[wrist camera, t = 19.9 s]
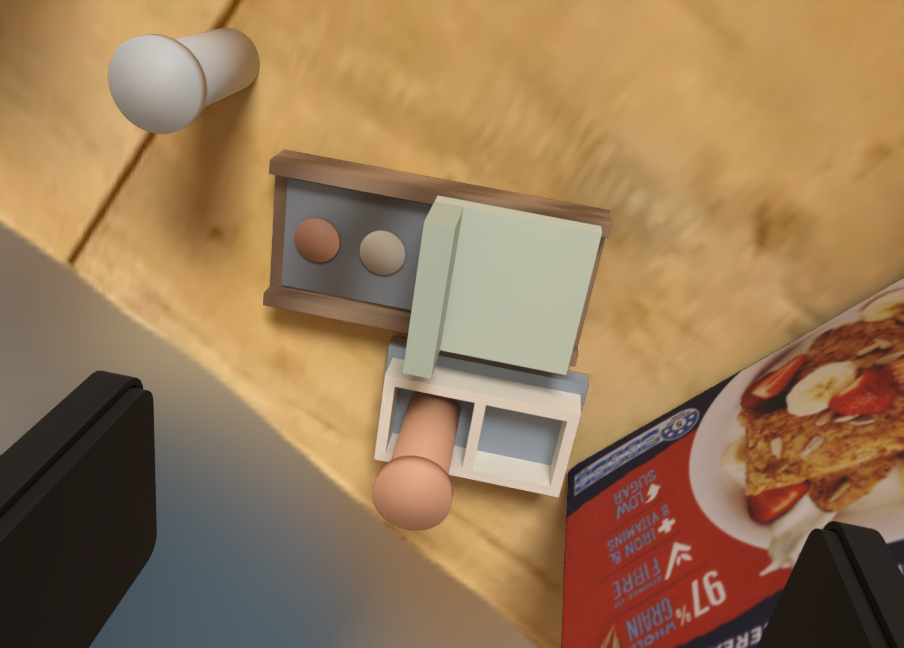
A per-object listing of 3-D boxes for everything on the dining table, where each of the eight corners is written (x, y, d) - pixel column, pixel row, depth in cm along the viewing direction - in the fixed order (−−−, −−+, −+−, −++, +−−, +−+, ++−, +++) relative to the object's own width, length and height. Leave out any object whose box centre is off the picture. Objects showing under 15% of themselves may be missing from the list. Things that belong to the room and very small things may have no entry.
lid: (601, 226, 38) (604, 255, 34) (566, 366, 41) (566, 406, 37) (437, 195, 38) (424, 221, 34) (417, 336, 41) (402, 373, 38)
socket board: (588, 374, 44) (589, 404, 41) (561, 474, 47) (561, 508, 44) (393, 335, 44) (381, 362, 42) (379, 436, 48) (367, 467, 45)
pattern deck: (609, 210, 40) (611, 224, 38) (574, 347, 43) (575, 366, 41) (284, 149, 41) (269, 160, 39) (276, 288, 44) (263, 304, 42)
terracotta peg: (470, 384, 44) (454, 471, 36) (464, 440, 45) (447, 535, 38) (403, 375, 44) (374, 459, 37) (399, 431, 46) (370, 524, 38)
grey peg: (266, 23, 38) (196, 41, 31) (267, 103, 40) (201, 139, 32) (191, 14, 38) (103, 31, 31) (195, 94, 40) (113, 128, 32)
